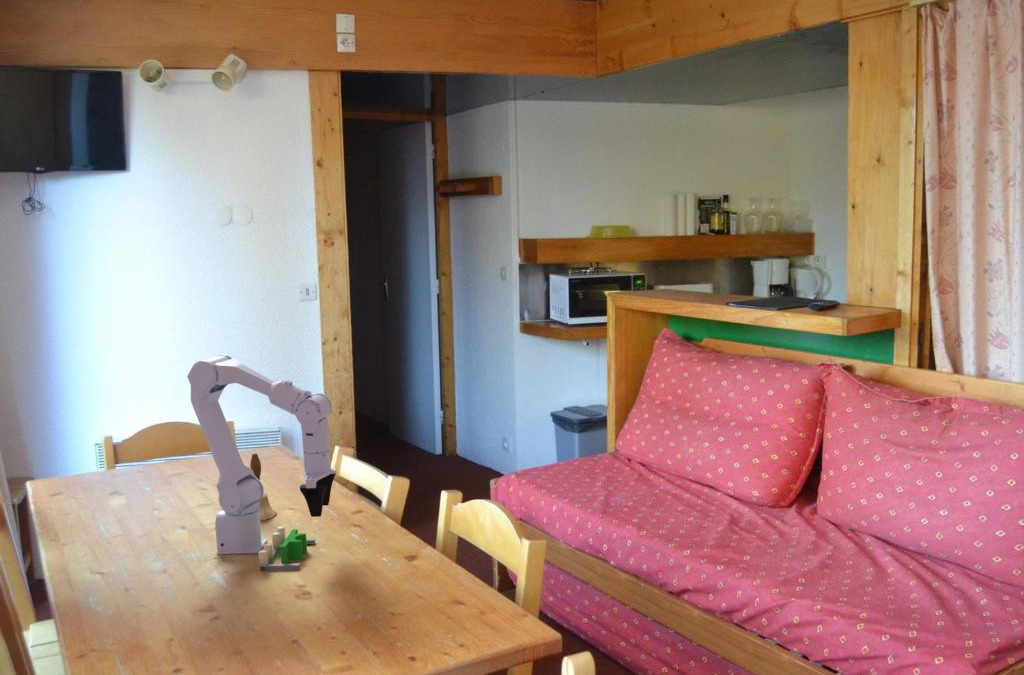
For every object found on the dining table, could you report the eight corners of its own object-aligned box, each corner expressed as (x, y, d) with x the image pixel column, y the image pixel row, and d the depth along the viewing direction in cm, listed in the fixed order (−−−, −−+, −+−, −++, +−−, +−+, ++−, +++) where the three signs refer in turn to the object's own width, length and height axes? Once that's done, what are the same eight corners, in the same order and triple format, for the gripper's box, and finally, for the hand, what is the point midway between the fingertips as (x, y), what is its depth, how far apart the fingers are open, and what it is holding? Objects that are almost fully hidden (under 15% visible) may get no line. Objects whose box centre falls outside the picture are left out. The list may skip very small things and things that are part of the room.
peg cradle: (258, 571, 205) (257, 553, 205) (278, 543, 222) (277, 526, 222) (298, 570, 205) (297, 552, 205) (315, 542, 222) (314, 525, 221)
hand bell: (235, 519, 240) (231, 457, 238) (256, 509, 248) (251, 448, 246) (263, 522, 237) (258, 459, 235) (283, 512, 245) (279, 451, 243)
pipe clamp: (298, 566, 208) (297, 546, 207) (281, 567, 208) (280, 546, 207) (310, 547, 219) (308, 528, 218) (293, 548, 219) (292, 528, 218)
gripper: (327, 458, 204) (331, 520, 206) (341, 441, 218) (344, 499, 220) (294, 459, 204) (298, 521, 206) (310, 442, 219) (313, 500, 221)
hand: (320, 510), depth 213 cm, fingers open, 7 cm apart
